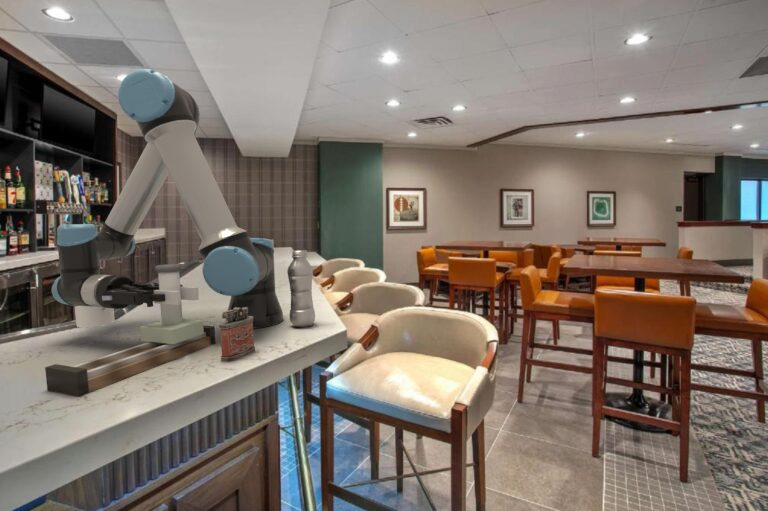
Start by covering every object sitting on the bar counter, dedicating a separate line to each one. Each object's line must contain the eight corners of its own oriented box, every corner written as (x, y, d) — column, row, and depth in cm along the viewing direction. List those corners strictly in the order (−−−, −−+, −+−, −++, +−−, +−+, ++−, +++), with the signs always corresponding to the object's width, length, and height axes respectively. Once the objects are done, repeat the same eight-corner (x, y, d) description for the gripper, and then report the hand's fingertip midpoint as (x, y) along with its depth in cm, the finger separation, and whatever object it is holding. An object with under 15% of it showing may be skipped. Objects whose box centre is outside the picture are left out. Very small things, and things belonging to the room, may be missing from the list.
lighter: (247, 349, 90) (245, 303, 89) (258, 350, 88) (256, 305, 87) (217, 360, 83) (214, 311, 82) (229, 362, 81) (226, 313, 80)
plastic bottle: (310, 329, 105) (307, 251, 103) (285, 328, 106) (281, 251, 104) (319, 323, 111) (316, 249, 109) (295, 322, 112) (292, 249, 110)
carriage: (173, 330, 94) (168, 262, 92) (203, 333, 91) (199, 263, 89) (141, 340, 86) (135, 266, 85) (173, 344, 83) (168, 267, 82)
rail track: (189, 340, 97) (188, 323, 97) (215, 343, 95) (214, 326, 94) (47, 390, 70) (45, 367, 69) (78, 396, 67) (76, 372, 66)
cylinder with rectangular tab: (74, 329, 111) (70, 285, 110) (78, 322, 119) (74, 281, 118) (113, 324, 116) (110, 282, 114) (115, 318, 123) (112, 278, 122)
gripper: (145, 300, 102) (219, 305, 94) (72, 316, 87) (153, 323, 78) (142, 270, 102) (217, 272, 94) (69, 280, 86) (150, 284, 78)
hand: (188, 295), depth 86 cm, fingers closed on carriage, 4 cm apart
